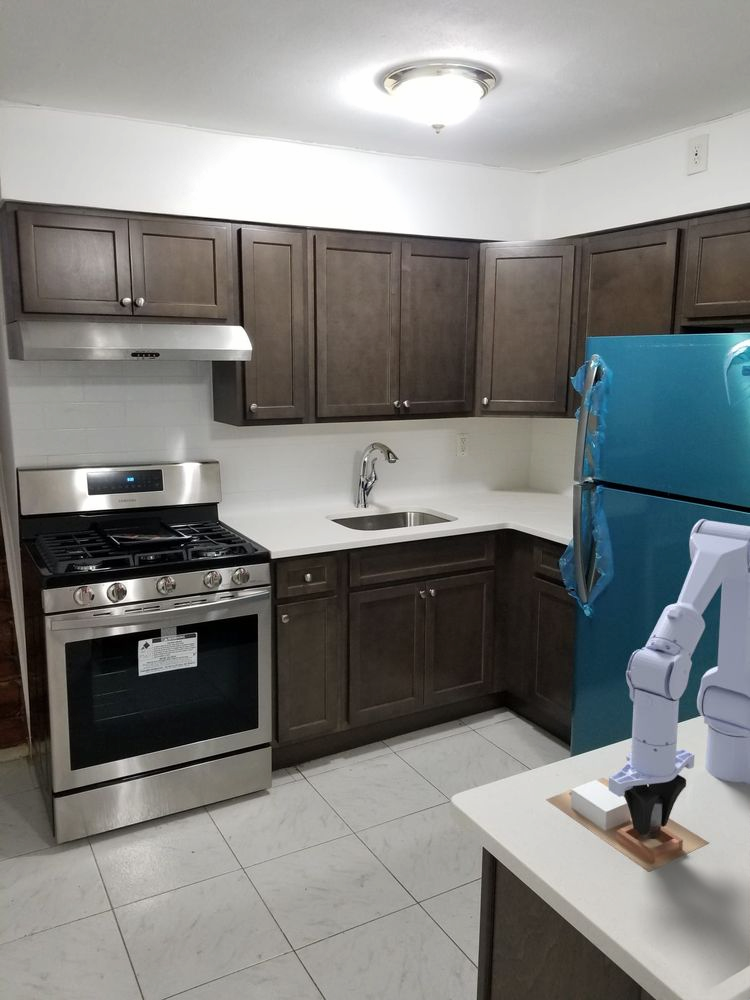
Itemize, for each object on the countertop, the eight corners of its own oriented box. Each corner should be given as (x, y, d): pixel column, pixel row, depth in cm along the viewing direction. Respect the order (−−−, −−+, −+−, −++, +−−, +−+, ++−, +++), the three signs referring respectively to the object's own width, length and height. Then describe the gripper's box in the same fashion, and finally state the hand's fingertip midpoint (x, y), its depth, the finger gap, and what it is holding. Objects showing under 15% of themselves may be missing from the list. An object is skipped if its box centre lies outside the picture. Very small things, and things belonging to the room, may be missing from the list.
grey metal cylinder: (665, 834, 110) (667, 801, 109) (650, 841, 108) (652, 808, 107) (648, 823, 112) (650, 791, 111) (633, 830, 111) (634, 797, 110)
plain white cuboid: (595, 797, 123) (595, 779, 122) (630, 820, 117) (631, 801, 116) (570, 807, 120) (571, 789, 120) (605, 830, 114) (606, 811, 114)
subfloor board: (602, 783, 128) (603, 769, 128) (708, 849, 111) (709, 832, 111) (545, 805, 122) (546, 790, 122) (648, 878, 105) (649, 861, 105)
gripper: (667, 711, 115) (662, 797, 117) (593, 737, 108) (590, 828, 110) (709, 731, 109) (703, 821, 111) (633, 759, 102) (629, 855, 104)
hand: (649, 826), depth 110 cm, fingers closed on grey metal cylinder, 3 cm apart
